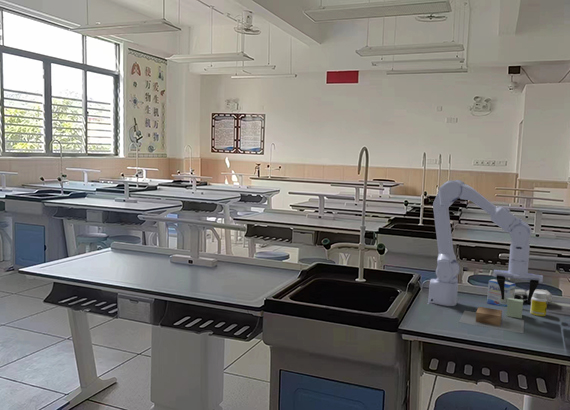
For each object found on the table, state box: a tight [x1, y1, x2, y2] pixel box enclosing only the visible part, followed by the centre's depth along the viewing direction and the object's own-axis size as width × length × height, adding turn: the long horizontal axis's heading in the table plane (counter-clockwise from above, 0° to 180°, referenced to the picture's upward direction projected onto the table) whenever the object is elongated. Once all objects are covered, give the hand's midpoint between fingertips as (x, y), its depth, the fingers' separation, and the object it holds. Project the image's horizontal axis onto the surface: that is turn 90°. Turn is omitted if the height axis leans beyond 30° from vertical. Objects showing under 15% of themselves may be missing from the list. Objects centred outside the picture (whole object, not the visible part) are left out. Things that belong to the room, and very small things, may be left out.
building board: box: [458, 310, 525, 334], centre depth 155 cm, size 18×14×1 cm
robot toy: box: [514, 288, 553, 303], centre depth 182 cm, size 12×4×15 cm
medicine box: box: [486, 278, 516, 308], centre depth 176 cm, size 8×4×9 cm, turn 42°
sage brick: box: [505, 298, 524, 319], centre depth 162 cm, size 4×4×6 cm
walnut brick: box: [475, 306, 503, 326], centre depth 155 cm, size 7×7×3 cm
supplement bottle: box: [529, 291, 548, 317], centre depth 164 cm, size 5×5×8 cm
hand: (515, 300), depth 161 cm, fingers open, 7 cm apart
